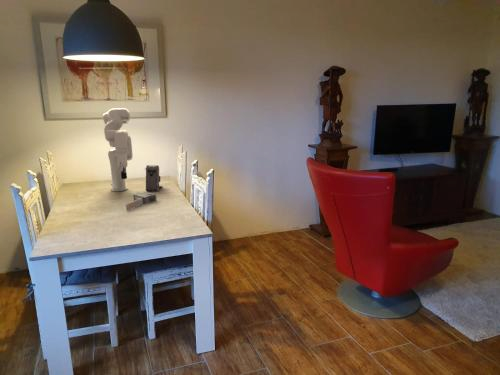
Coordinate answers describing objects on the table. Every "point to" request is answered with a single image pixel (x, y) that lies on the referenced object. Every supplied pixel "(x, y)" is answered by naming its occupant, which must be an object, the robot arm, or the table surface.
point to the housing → (145, 197)
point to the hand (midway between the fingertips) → (124, 178)
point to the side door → (134, 204)
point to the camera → (152, 178)
